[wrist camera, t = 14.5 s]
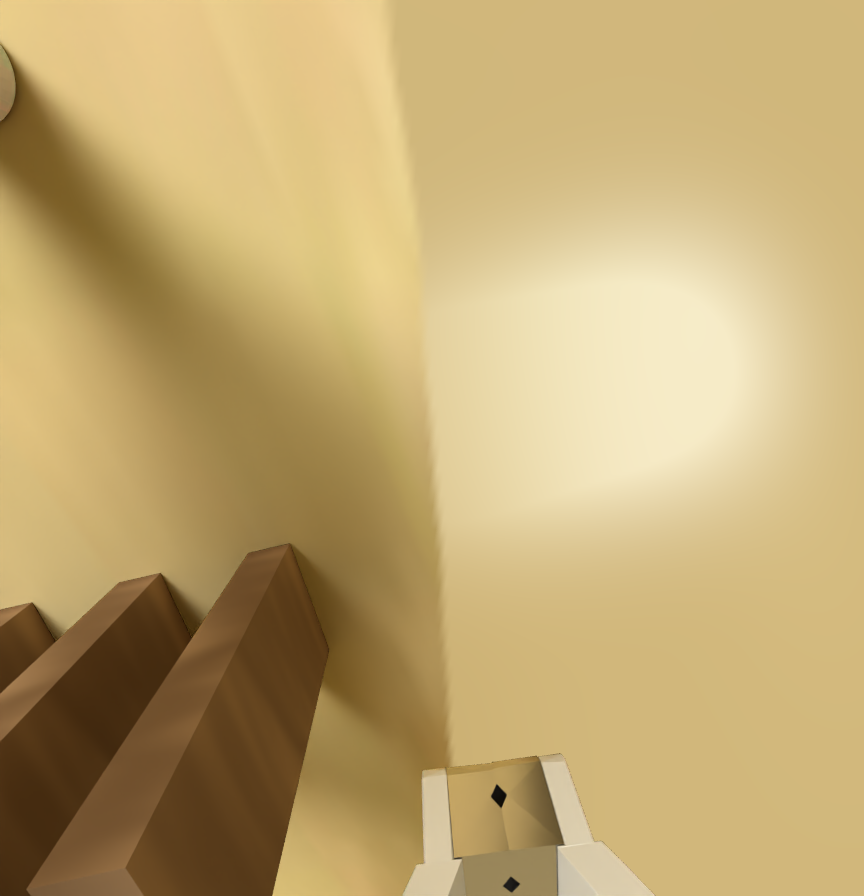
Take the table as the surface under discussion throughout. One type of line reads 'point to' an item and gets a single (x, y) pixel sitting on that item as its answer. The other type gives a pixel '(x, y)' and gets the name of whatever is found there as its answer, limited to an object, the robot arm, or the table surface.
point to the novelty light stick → (6, 84)
